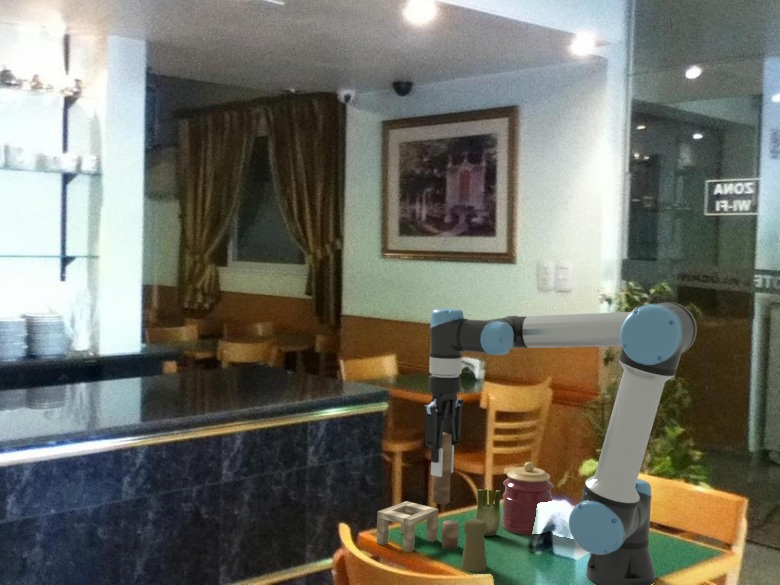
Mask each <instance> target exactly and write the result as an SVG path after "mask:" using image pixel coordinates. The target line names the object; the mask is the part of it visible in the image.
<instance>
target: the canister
mask: <svg viewBox="0 0 780 585" xmlns="http://www.w3.org/2000/svg"><path fill="white" fill-rule="evenodd" d="M506 476H507V478H506V479H505V480H503V486H504V488H505V489H504V492H503V494H502V498H503V499H502V500H503V501H502V502H503V504H502V516H501V523H502V527H503V529H504V530H506V531H508V532H510V533H514V534H519V535H524V536H525V535H526V536H532V535H531V534H532V531H533V526H534V522H535V517H536V508H537V504H538V503H540V502H548V501H552V502H553V500H554V498H553V496H552V489H554V485H553V483H552V482H551V481H550V479H551V475H550V474H549V473H548V472H546V471H545V470H543V469H542V468H538V467H535V465H534V463H533V462H531V461H527V462H525V463H524V465H523V466H518V467H514V468H513V469H512V470H510V471H508V472H506Z"/></svg>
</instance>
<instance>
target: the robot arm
mask: <svg viewBox="0 0 780 585" xmlns="http://www.w3.org/2000/svg"><path fill="white" fill-rule="evenodd" d="M429 329H430V330H429V332H430V333H429V334H430V335H429V336H430V337H429V339H430V340H429V342H430V343H429V344H430V345H429V351H430V352H429V366H428V367H429V369H428V371H429V373H430V375H429V376H428V391H429V392H431V394H432V396H431V400H430V401H431V402H430V403H429V404H424V405H423V410H424V411H423V412H424V416H425V417H424V418H425V419H424V421H425V422H424V426H425V427H424V428H425V429H424V436H425V437H424V445H425V447H427V448H430V462H431V463H430V475H431V476H433V475H434V476H438V477H442V466H443V449H442V448H441V442H442V435H443V433H450V434H452V443H451V474H453V473H454V463H455V462H454V458H455V456H454V455H455V446H458V445H459V444H460V440H461V430H462V417H463V416H462V415H463V413H462V412H463V406H464V399H463V398H458V395H457V394H459V393H460V392H461V390H462V377H461V376H460V375H462V365H463V363H462V360H463V358H462V357H463V356H462V355H463V353H465V352H467V353H477V354H486V355H490V356H505V355H507V354H509V353H510V350H512V349H530V348H531V349H534V348H537V349H540V348H546V349H547V348H587V347H588V348H591V347H594V348H595V347H601V348H602V347H605V348H606V347H621V351H620V355H619V357H618V362H619V364H620V365H621V368H622V369H623V373H622V375H621V379H620V383H619V387H618V389H617V394H616V398H615V401H614V405H613V408H612V412H611V414H610V419H609V423H608V425H607V430H606V433H605V437H604V441H603V444H602V447H601V451H600V455H599V458H598V462H597V465H596V470H595V473H594V475H592V476H591V477H589V478H587V479H586V480H585V482H584V485H583V486H584V487H583V490H582V493H581V496H580V500H579V503H578V504H576V505H575V506H574V507H573V508H572V511H571V512H570V514H569V518H568V526H569V527H568V528H569V532H570V534H571V536H572V537H573V540H574V541H575V543H576V544H577V545H578V546H579V547H581V549H583V550H584V551H586V552H588V553H590V556H589V559H588V561H587V564H586V577H587V578H588V579H589V580H590V581H591V582H593V583H595V584H598V585H651V584H653V583H654V582H655V583H656V569H655V566H654V562H653V559H652V555H651V551H650V547H649V543H650V540H649V539H650V528H651V527H650V524H651V507H652V506H651V505H652V498H653V496H652V486H651V484H650V483H649V481H647V480H643V479H639V474H640V471H641V468H642V463H643V460H644V457H645V454H646V449H647V446H648V443H649V440H650V436H651V433H652V430H653V425H654V422H655V419H656V416H657V412H658V408H659V405H660V401H661V397H662V394H663V390H664V387H665V383H666V382H667V381H669V380H671V379H673V378H674V377H676V374H677V370H678V366H679V363H680V359H681V356H682V354H684V353H685V352H686V351H688V350H689V349H690V348H691V347H692V346H693V344H694V342H695V340H696V337H697V332H698V327H697V322H696V319H695V317H694V314H693V313H692V312H691V311H690V310H689V309H688V308H687V307H685V306H684V305H682V304H680V303H676V302H671V301H666V302H665V301H663V302H659V303H649V304H648V303H647V304H644V305H642V306H635V307H634V308H633V310H631V311H623V312H621V311H620V312H618V311H617V312H600V313H599V312H597V313H575V314H549V315H547V314H545V315H529V316H518V315H509V316H506V317H502V318H500V317H499V318H493V319H492V318H491V319H486V320H485V319H484V320H483V319H481V320H480V319H469V318H465V316H464V312H463V310H462V309H459V308H458V309H457V308H445V307H444V308H435V309H433V310H432V312H431V317H430V326H429Z"/></svg>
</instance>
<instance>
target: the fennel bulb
mask: <svg viewBox="0 0 780 585" xmlns="http://www.w3.org/2000/svg"><path fill="white" fill-rule="evenodd" d="M476 491H477V508H476V512H475V516H474V519H479V520H482V521H484V522H485V523H486V527H487V531H486V533H485V535H484V537H485V536H486V537H492V536H495V535H496V534H497V533H498V530H499V527H500V522H501V506H500V505H501V503H500V502H501V490H497V489H496V490H495V495H494V489H487V488H484V489H477V490H476Z"/></svg>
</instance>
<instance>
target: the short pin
mask: <svg viewBox="0 0 780 585" xmlns="http://www.w3.org/2000/svg"><path fill="white" fill-rule="evenodd" d="M441 525H442V528H441V533H442V534H441V548H442V549H444V550H448V549H450V550H449V551H451V550H457V549H459V528H460V526H459V525H460V524H459V521H456V520H444V521H442V524H441Z"/></svg>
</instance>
